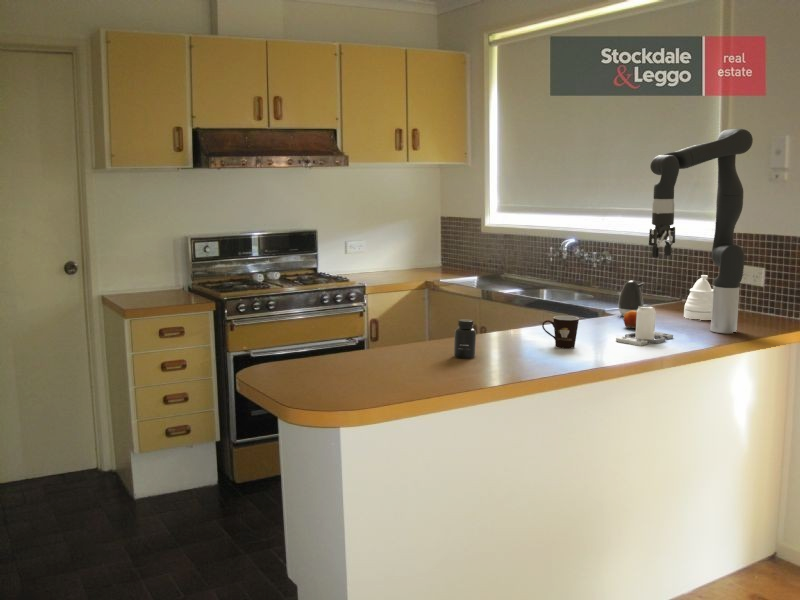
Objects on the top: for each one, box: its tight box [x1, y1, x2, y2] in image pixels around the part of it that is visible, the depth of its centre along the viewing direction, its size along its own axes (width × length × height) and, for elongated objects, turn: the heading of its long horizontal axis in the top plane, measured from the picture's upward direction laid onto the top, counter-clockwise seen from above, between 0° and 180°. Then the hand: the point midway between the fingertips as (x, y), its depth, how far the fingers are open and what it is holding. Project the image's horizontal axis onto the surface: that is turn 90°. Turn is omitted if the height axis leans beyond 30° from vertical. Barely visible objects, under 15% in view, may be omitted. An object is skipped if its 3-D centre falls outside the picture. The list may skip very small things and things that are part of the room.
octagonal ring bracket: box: [615, 331, 674, 347], centre depth 302 cm, size 22×13×1 cm, turn 133°
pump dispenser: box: [617, 279, 646, 317], centre depth 350 cm, size 10×10×15 cm
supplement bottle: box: [453, 318, 477, 360], centre depth 271 cm, size 7×7×12 cm
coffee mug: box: [541, 315, 580, 350], centre depth 289 cm, size 12×9×10 cm
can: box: [634, 305, 656, 340], centre depth 301 cm, size 6×6×12 cm
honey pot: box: [683, 274, 713, 321], centre depth 348 cm, size 13×13×18 cm
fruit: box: [623, 310, 637, 329], centre depth 324 cm, size 8×8×8 cm
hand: (661, 256), depth 305 cm, fingers open, 8 cm apart
